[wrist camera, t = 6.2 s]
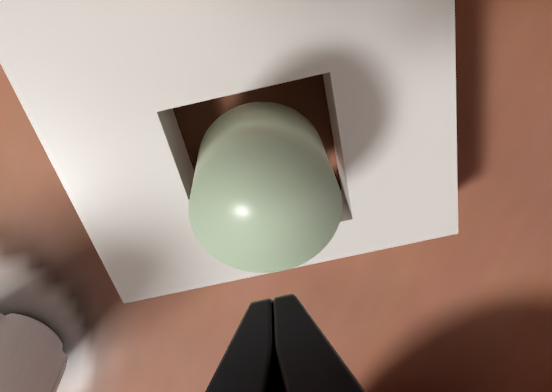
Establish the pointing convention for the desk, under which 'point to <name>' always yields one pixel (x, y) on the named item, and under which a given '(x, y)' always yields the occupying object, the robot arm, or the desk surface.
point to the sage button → (263, 189)
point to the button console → (227, 81)
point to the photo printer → (29, 355)
